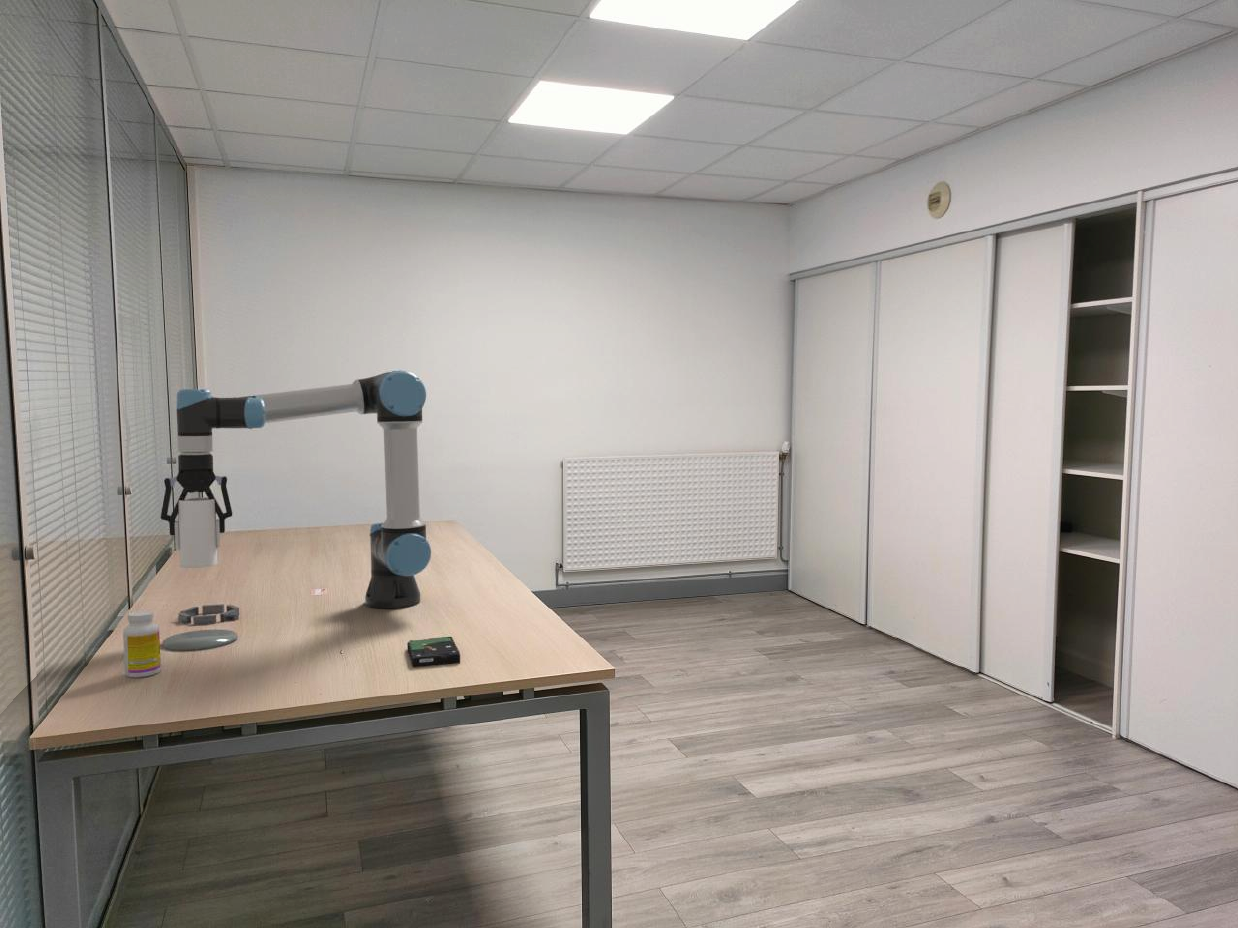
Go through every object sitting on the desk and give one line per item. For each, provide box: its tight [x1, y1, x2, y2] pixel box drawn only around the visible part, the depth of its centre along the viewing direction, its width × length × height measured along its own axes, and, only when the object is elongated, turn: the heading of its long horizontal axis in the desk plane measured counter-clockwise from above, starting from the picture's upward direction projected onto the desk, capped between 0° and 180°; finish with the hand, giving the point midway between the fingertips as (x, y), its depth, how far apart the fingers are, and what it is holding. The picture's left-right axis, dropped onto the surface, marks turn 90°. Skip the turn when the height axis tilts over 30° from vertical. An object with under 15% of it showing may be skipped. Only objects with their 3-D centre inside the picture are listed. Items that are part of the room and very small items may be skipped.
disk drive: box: [407, 636, 461, 668], centre depth 197 cm, size 10×3×15 cm
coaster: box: [161, 629, 238, 652], centre depth 209 cm, size 16×16×1 cm
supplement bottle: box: [122, 610, 162, 679], centre depth 184 cm, size 7×7×13 cm
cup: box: [177, 496, 218, 569], centre depth 212 cm, size 8×8×16 cm
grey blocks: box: [178, 604, 240, 626], centre depth 231 cm, size 17×14×2 cm
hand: (198, 547), depth 213 cm, fingers closed on cup, 8 cm apart
